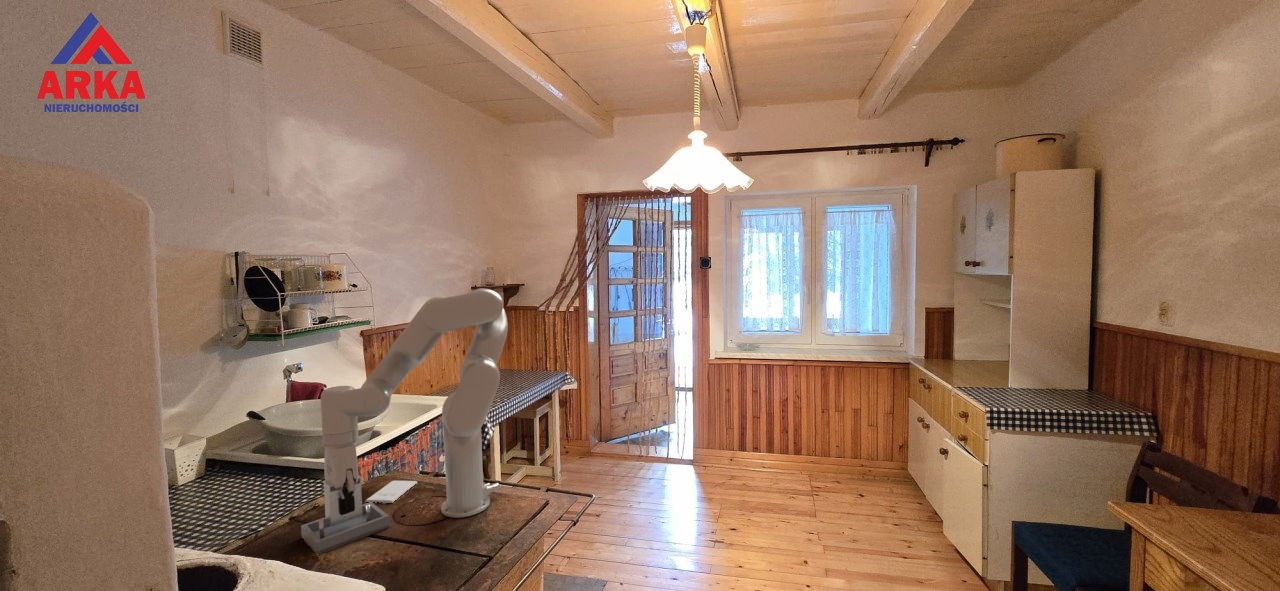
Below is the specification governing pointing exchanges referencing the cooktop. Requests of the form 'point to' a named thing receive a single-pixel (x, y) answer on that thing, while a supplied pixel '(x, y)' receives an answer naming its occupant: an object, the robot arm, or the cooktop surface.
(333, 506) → the block
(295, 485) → the cooktop surface
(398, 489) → the external hard drive
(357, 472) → the robot arm
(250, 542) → the cooktop surface
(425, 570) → the cooktop surface
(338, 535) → the tray
